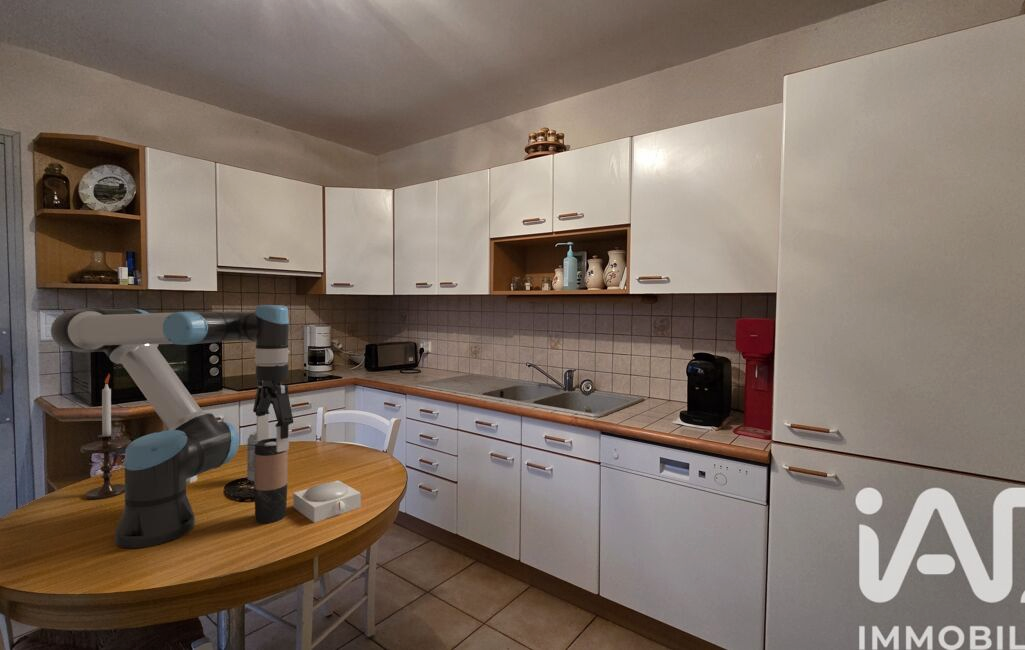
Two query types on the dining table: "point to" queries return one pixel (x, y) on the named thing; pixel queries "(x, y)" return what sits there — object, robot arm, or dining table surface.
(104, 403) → the candlestick
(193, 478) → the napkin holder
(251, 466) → the energy drink can
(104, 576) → the dining table surface
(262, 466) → the travel mug
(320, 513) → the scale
